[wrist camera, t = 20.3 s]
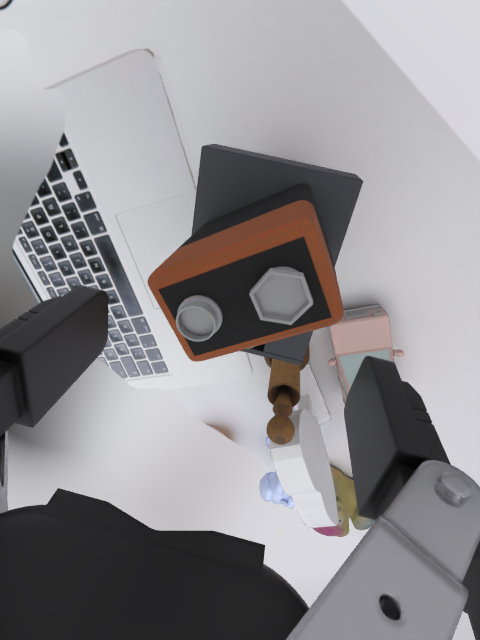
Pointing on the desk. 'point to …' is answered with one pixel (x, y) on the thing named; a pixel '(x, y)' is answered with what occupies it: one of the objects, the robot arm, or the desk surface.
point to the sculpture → (345, 507)
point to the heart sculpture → (307, 459)
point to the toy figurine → (274, 488)
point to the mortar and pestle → (283, 397)
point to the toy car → (360, 341)
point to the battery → (251, 277)
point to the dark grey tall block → (261, 182)
